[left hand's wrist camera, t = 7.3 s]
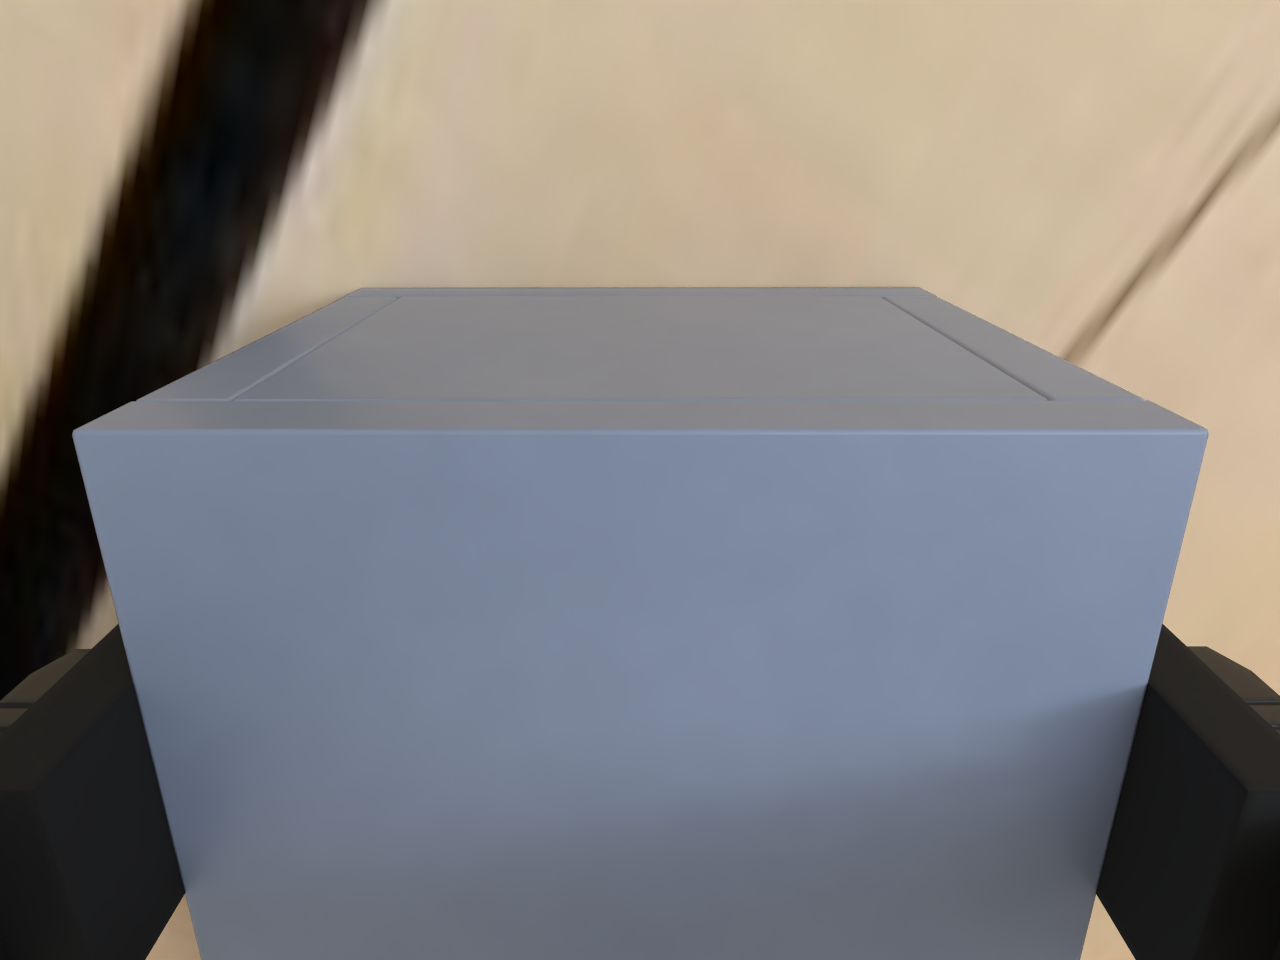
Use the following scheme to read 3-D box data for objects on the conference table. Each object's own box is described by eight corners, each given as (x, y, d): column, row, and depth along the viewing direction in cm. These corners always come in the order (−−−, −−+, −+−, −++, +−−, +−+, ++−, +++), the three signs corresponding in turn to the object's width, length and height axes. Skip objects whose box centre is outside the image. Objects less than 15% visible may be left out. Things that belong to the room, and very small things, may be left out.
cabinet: (827, 1114, 23) (922, 1606, 15) (454, 1114, 23) (359, 1607, 15) (921, 286, 15) (1213, 429, 8) (359, 287, 15) (68, 430, 8)
